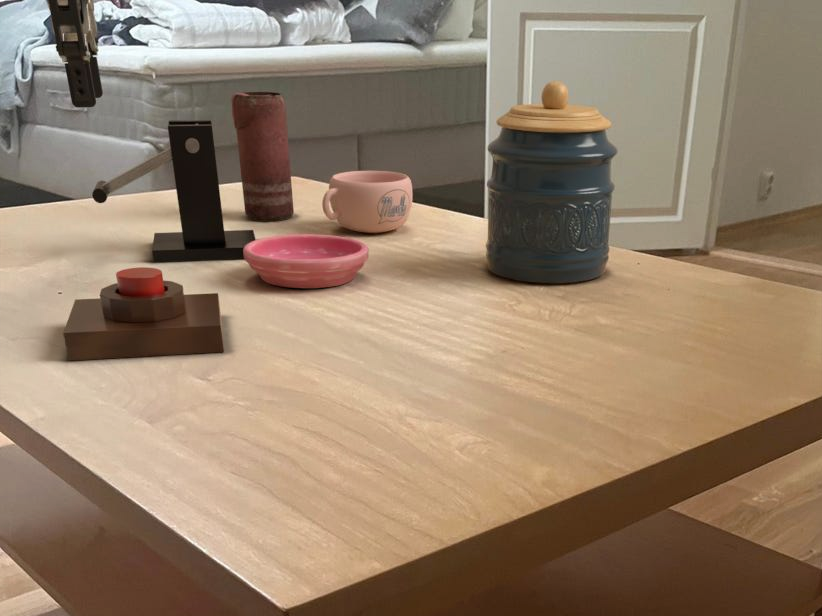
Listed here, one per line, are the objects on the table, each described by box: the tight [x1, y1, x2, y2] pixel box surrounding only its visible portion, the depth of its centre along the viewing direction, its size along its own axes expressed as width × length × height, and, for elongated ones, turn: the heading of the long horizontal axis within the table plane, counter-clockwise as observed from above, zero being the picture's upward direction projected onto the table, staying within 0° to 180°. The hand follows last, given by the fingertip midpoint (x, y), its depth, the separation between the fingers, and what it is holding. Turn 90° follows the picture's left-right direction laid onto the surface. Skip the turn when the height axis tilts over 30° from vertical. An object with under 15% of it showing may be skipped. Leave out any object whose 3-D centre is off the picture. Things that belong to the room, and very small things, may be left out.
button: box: [115, 266, 165, 297], centre depth 82 cm, size 4×4×2 cm
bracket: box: [151, 119, 257, 263], centre depth 108 cm, size 11×9×13 cm
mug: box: [321, 170, 414, 234], centre depth 120 cm, size 12×10×6 cm
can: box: [230, 91, 295, 222], centre depth 124 cm, size 6×6×14 cm
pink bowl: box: [243, 233, 369, 289], centre depth 101 cm, size 12×12×3 cm
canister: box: [485, 80, 618, 284], centre depth 102 cm, size 13×13×18 cm
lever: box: [91, 123, 198, 204], centre depth 106 cm, size 13×5×2 cm, turn 104°
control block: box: [62, 279, 225, 362], centre depth 83 cm, size 12×10×4 cm
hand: (88, 102), depth 101 cm, fingers open, 8 cm apart
